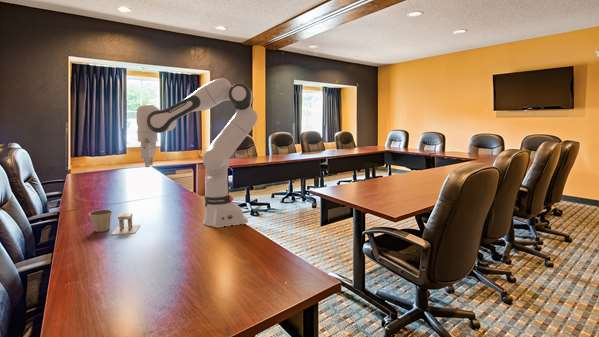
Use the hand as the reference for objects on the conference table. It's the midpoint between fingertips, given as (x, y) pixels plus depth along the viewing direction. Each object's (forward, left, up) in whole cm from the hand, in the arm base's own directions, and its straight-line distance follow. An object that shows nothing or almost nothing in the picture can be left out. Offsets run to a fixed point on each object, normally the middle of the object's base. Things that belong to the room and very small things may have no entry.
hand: (149, 165), depth 163 cm
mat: (+10, +10, -29) cm, 32 cm away
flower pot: (+21, +7, -29) cm, 37 cm away
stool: (+10, +10, -29) cm, 32 cm away
